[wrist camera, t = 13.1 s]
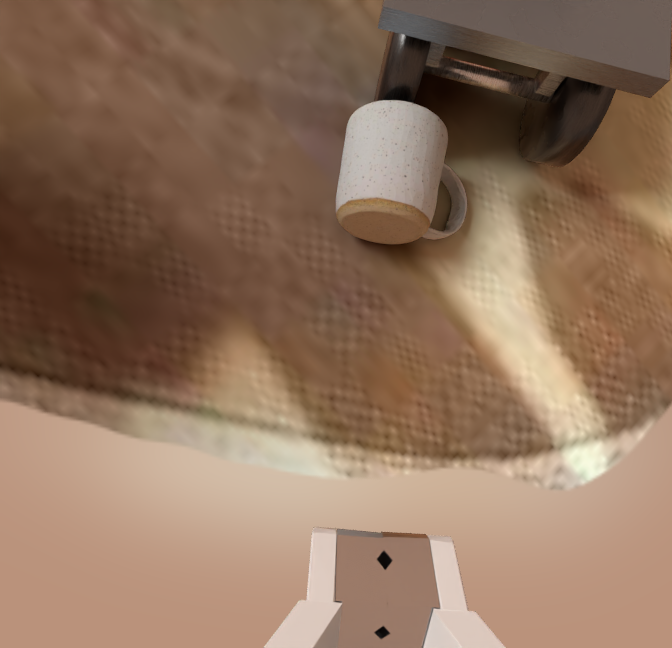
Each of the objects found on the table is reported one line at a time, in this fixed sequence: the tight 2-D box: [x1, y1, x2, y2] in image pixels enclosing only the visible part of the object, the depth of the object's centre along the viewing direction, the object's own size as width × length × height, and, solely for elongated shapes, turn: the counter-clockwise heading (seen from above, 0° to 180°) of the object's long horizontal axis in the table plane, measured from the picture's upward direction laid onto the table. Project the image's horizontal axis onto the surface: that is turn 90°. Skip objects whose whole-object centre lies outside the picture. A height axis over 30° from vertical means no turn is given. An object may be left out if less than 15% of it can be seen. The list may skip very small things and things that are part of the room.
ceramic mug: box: [336, 100, 467, 244], centre depth 36 cm, size 11×8×8 cm
